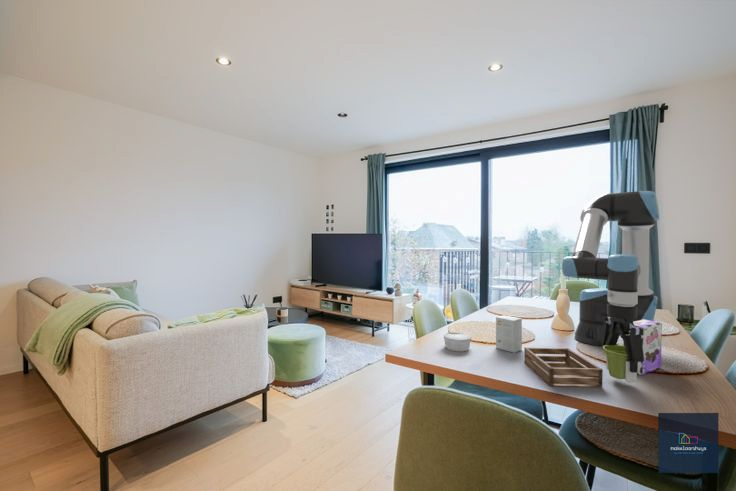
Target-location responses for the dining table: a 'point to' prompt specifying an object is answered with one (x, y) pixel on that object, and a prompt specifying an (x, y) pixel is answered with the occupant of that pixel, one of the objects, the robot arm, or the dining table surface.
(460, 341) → the ramekin
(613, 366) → the plant pot
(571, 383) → the crate
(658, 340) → the candy box
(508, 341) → the small box
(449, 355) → the dining table surface
